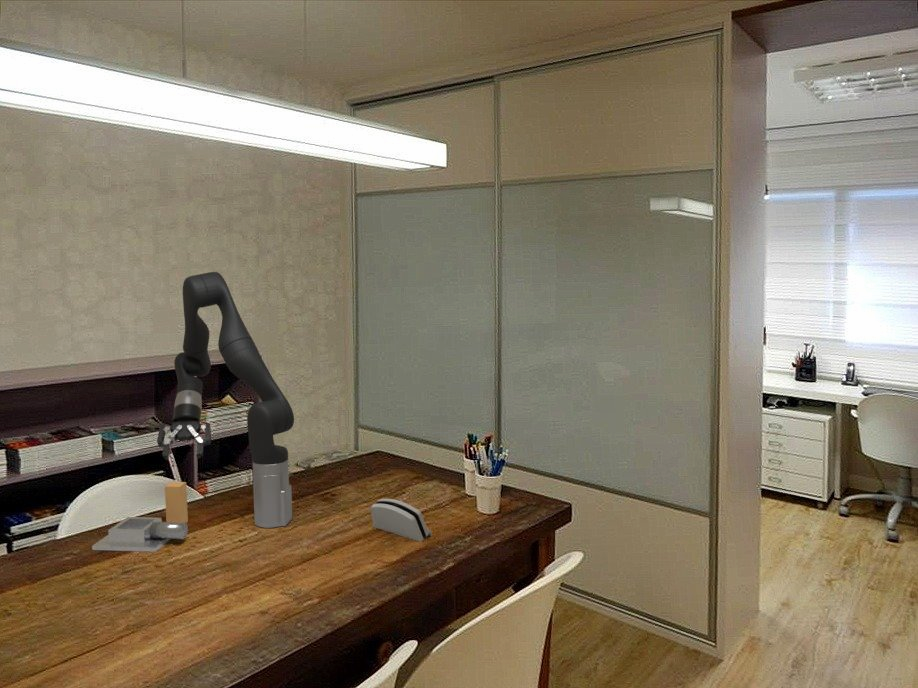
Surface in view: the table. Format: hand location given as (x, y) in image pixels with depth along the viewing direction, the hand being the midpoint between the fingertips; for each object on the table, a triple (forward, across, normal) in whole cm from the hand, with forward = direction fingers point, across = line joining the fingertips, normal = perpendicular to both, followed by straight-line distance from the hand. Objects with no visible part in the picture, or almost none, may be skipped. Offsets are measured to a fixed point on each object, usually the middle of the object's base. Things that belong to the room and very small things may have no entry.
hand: (182, 457), depth 200 cm
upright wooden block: (+19, 0, +3) cm, 19 cm away
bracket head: (+26, -6, -5) cm, 28 cm away
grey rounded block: (+31, +58, -10) cm, 66 cm away
